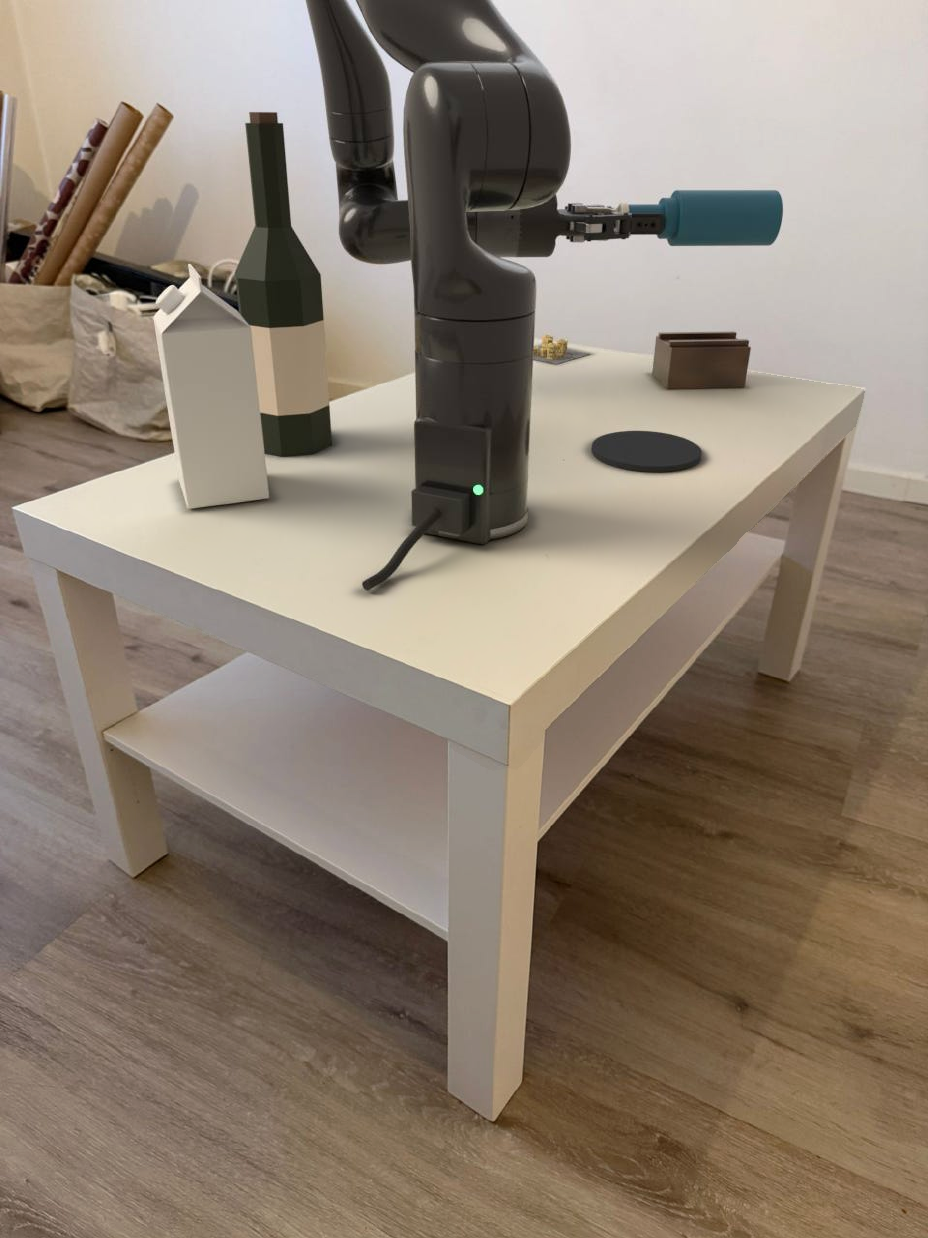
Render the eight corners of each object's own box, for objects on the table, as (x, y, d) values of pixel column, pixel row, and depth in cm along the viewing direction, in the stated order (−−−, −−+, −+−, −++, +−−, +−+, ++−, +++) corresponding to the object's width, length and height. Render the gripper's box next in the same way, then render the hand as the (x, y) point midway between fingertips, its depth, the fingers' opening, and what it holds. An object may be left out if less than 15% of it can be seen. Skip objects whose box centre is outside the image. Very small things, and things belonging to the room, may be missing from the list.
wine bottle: (340, 431, 97) (321, 111, 82) (322, 458, 90) (297, 112, 75) (265, 428, 98) (231, 111, 83) (241, 454, 91) (200, 111, 76)
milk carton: (256, 473, 86) (232, 261, 77) (270, 500, 80) (246, 274, 71) (179, 482, 84) (144, 265, 75) (187, 511, 78) (151, 279, 69)
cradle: (725, 373, 120) (732, 329, 117) (744, 387, 114) (752, 342, 111) (651, 374, 119) (656, 330, 116) (667, 389, 113) (672, 343, 110)
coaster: (687, 479, 86) (688, 473, 85) (577, 461, 90) (577, 456, 89) (711, 444, 94) (711, 439, 94) (609, 430, 98) (609, 424, 98)
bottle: (758, 244, 111) (765, 190, 109) (778, 246, 106) (786, 189, 103) (611, 245, 109) (614, 190, 107) (623, 247, 104) (627, 189, 102)
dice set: (546, 347, 131) (546, 334, 130) (574, 353, 128) (575, 339, 127) (524, 353, 128) (524, 339, 127) (552, 360, 125) (553, 345, 124)
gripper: (522, 191, 97) (680, 191, 98) (505, 182, 109) (645, 182, 110) (520, 265, 100) (671, 264, 102) (503, 249, 113) (639, 248, 114)
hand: (657, 222), depth 106 cm, fingers closed on bottle, 3 cm apart
